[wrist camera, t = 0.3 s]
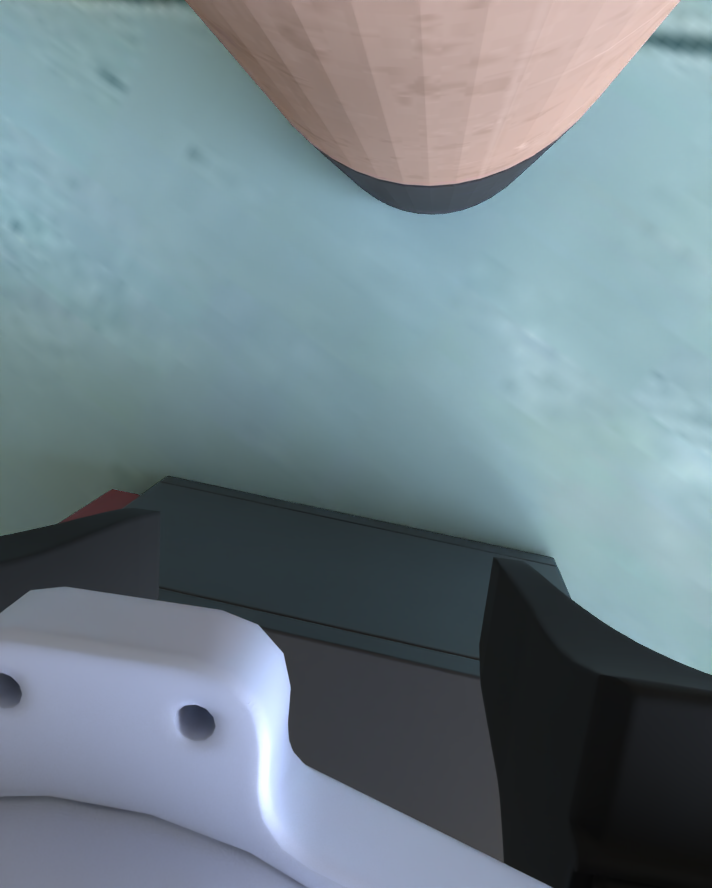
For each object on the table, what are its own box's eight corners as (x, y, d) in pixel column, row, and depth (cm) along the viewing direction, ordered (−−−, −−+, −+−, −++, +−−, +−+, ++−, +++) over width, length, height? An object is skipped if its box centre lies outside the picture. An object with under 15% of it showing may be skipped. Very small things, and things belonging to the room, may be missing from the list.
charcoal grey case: (136, 769, 28) (9, 976, 20) (167, 474, 24) (28, 574, 16) (470, 852, 27) (486, 1107, 18) (554, 557, 23) (619, 709, 15)
